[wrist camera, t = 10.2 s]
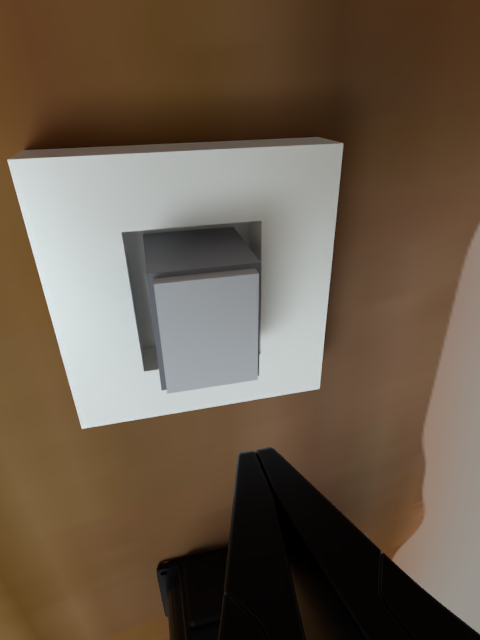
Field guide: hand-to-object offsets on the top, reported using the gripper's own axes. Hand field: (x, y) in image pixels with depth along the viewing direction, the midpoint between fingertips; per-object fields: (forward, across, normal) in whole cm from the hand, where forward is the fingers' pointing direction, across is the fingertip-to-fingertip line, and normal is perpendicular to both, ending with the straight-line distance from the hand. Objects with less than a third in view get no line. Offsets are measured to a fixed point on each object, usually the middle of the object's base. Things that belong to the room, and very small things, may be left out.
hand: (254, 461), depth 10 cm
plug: (+11, 0, 0) cm, 11 cm away
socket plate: (+12, 0, 0) cm, 12 cm away
